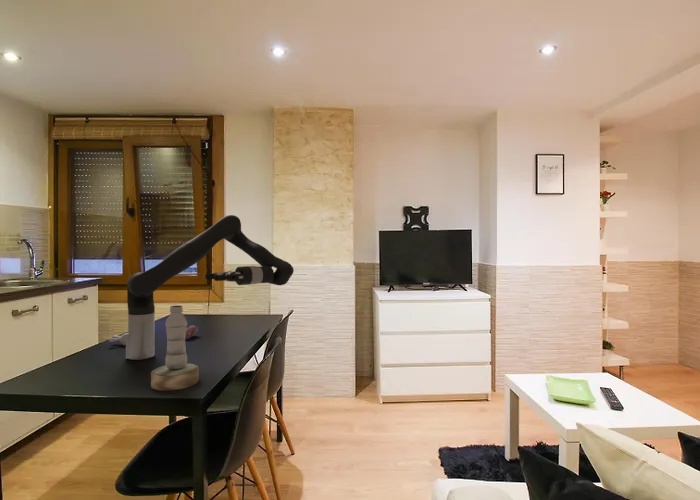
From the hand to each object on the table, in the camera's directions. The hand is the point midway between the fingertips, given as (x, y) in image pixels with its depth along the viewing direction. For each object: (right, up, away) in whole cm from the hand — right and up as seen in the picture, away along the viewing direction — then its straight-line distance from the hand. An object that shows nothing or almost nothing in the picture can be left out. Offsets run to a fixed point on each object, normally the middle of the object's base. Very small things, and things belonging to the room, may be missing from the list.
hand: (210, 277), depth 149 cm
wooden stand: (-3, -32, -24) cm, 40 cm away
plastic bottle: (-2, -28, -24) cm, 37 cm away
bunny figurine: (-45, -32, +25) cm, 60 cm away
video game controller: (-24, -32, +38) cm, 55 cm away
